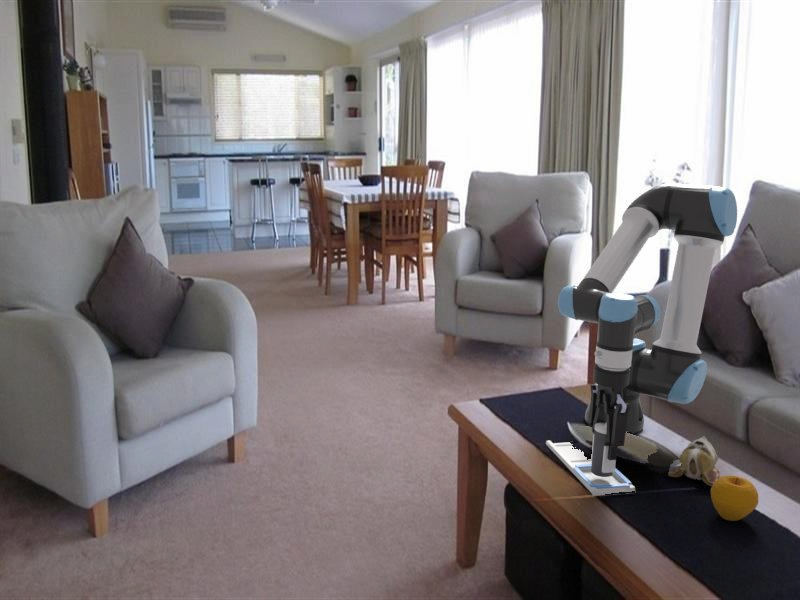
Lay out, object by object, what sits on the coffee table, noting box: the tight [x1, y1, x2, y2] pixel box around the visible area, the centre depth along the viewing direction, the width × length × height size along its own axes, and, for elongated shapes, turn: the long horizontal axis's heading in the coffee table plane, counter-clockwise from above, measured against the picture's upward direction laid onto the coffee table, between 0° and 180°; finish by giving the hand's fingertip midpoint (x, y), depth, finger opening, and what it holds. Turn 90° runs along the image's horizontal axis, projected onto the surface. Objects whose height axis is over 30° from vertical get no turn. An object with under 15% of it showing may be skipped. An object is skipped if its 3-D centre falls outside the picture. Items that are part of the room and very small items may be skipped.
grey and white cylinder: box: [591, 422, 613, 477], centre depth 162 cm, size 5×5×11 cm
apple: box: [710, 475, 759, 522], centre depth 149 cm, size 9×9×9 cm
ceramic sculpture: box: [667, 435, 720, 487], centre depth 167 cm, size 11×9×15 cm
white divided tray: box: [545, 440, 636, 497], centre depth 171 cm, size 10×26×2 cm, turn 12°
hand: (602, 466), depth 163 cm, fingers closed on grey and white cylinder, 5 cm apart
